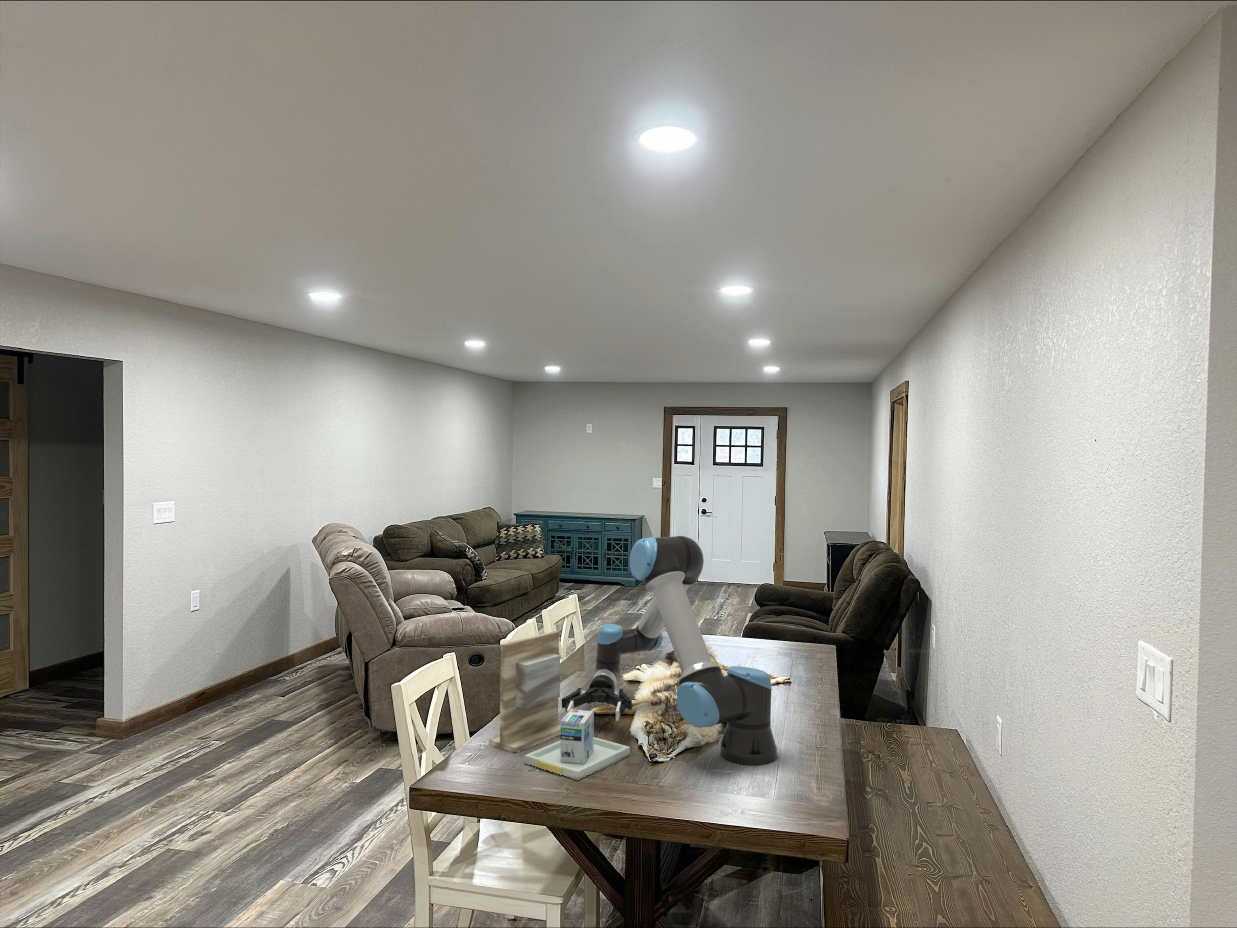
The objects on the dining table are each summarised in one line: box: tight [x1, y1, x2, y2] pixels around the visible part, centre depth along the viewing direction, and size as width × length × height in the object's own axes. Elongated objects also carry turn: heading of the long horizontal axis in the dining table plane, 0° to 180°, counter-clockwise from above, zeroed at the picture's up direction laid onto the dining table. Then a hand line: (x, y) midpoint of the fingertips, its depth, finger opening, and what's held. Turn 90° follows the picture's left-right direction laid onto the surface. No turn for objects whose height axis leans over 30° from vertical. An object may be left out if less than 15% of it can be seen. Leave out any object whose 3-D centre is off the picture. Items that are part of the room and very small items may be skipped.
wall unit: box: [488, 630, 561, 754], centre depth 229 cm, size 10×22×28 cm, turn 143°
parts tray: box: [523, 736, 631, 781], centre depth 213 cm, size 18×22×2 cm
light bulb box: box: [559, 708, 595, 764], centre depth 213 cm, size 11×7×11 cm, turn 168°
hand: (592, 715), depth 222 cm, fingers open, 13 cm apart
